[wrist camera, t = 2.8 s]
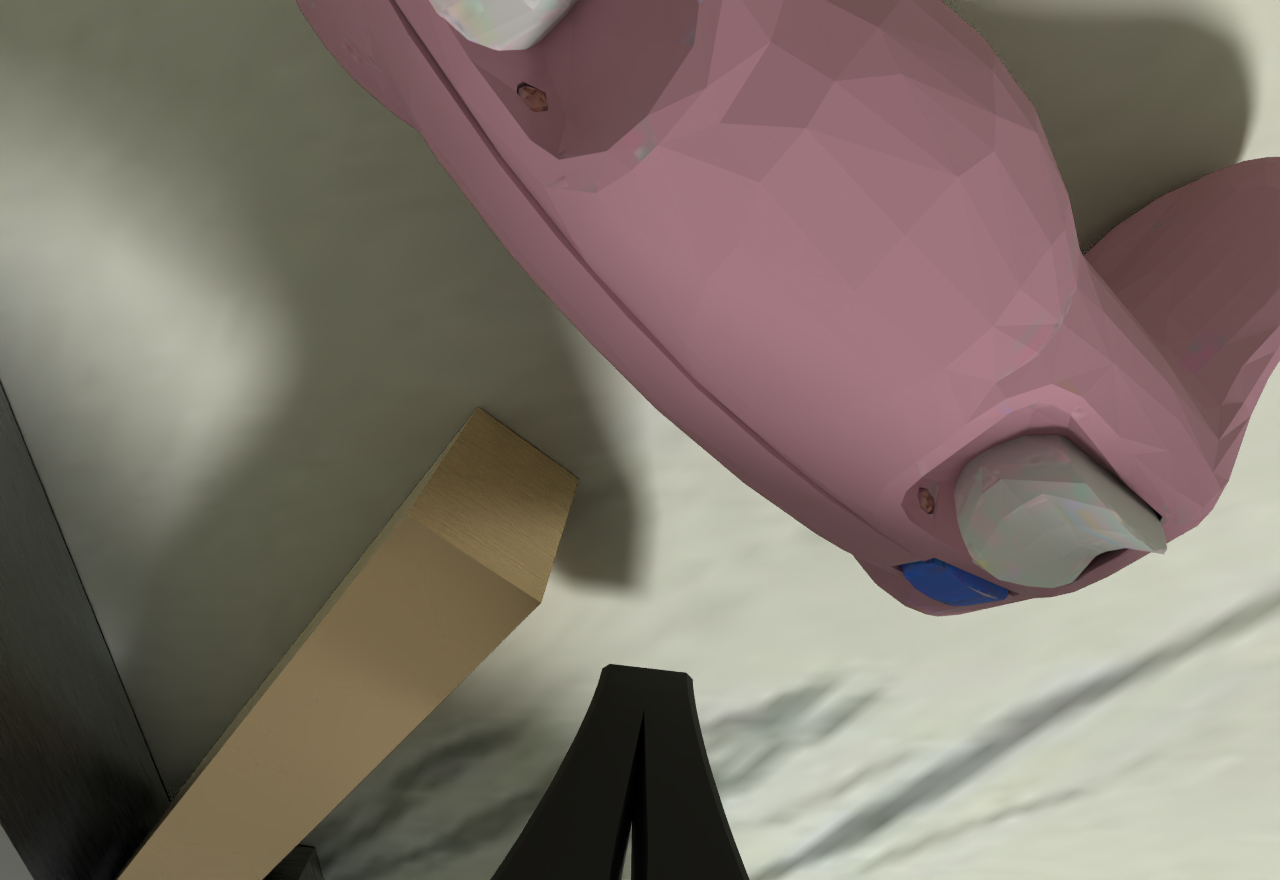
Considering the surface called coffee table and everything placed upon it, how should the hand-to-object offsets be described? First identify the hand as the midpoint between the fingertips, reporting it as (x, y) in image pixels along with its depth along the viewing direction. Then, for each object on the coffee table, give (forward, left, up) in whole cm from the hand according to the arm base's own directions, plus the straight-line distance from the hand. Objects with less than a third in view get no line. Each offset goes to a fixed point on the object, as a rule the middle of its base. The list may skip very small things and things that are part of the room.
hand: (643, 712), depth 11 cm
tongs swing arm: (-2, +6, -2) cm, 7 cm away
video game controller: (+9, -2, -2) cm, 10 cm away
